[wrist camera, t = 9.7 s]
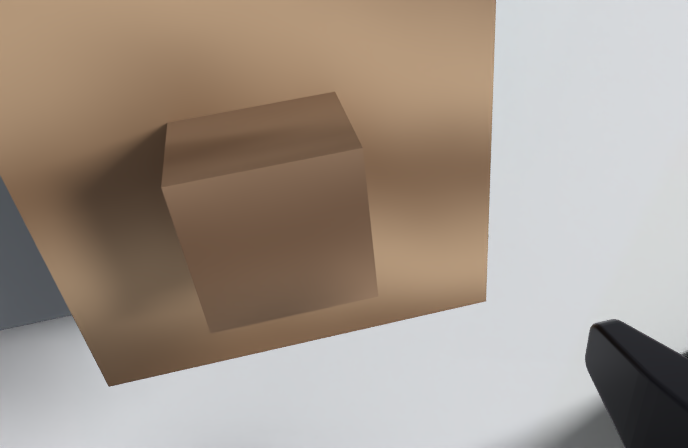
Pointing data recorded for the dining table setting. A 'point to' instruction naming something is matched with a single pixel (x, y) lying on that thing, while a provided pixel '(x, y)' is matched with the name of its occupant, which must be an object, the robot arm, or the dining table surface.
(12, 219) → the mat
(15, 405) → the dining table surface
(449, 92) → the lid
